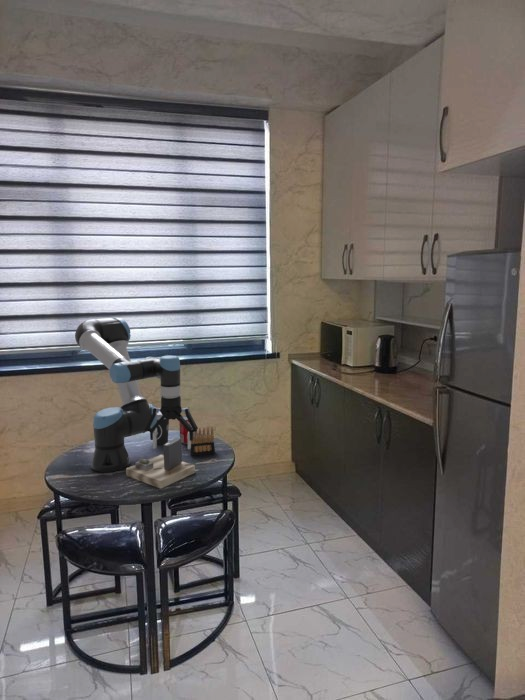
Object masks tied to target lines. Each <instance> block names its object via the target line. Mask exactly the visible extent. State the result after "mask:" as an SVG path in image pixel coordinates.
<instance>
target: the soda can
mask: <svg viewBox="0 0 525 700" xmlns="http://www.w3.org/2000/svg"><path fill="white" fill-rule="evenodd" d="M182 417H183V418H184V419H185V420H186V422H187V423H188V424H189V425H190V426H191V424H190V422H189V421H188V419H187V417H186V415H185V416H182ZM178 423H179V438H181V445H182V444H183V445H188V438H187V433H188V432H189V431H188V430H187V429H186V428H185V427H184V426H183V425H182V424H181V422H180V421H178ZM191 427H192V426H191Z"/></svg>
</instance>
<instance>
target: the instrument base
mask: <svg viewBox="0 0 525 700" xmlns="http://www.w3.org/2000/svg"><path fill="white" fill-rule="evenodd" d="M125 473H126V474H125V476H126V477H129V478H132V479H133V480H137V481H140V482H143V483H145V484H147V485H151V486H153V487H155V488H158V489H163V488H165V487H168V486H170V485H172V484H174V483H176V482H178V481H181V480H182V479H185V478H187V477H189V476H191V475H193V474H195V473H196V465H194V464H193V463H188V462H185V461H183V460H182V463H180V464H179V465H177V466H176V467H174V468H173V469H171V470H170V471H169V470H164V454H159V455H157V456H153V457H151V458H149V459H147V458H142V457H141V458H139V460H138V461H136V462H134V465H131V466H127V467H125Z"/></svg>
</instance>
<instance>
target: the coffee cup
mask: <svg viewBox="0 0 525 700" xmlns="http://www.w3.org/2000/svg"><path fill="white" fill-rule="evenodd" d="M162 416H163V415H162V413H161V412H160V411H159V412H158V413H157V421H158V420H159V419H160V418H161V417H162ZM156 423H157V422H156ZM169 425H170V419H169V420H167V419H166V418H164V419H163V421H162V422H161V423H160V424H159V425H158V426H157V428H156V429H155V430H154V431H156V438H157V446H158V445H161V446H163V445H164V444H166V443H168V442H169V431H170V430H169V427H170V426H169Z"/></svg>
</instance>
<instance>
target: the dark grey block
mask: <svg viewBox="0 0 525 700" xmlns="http://www.w3.org/2000/svg"><path fill="white" fill-rule="evenodd" d="M162 446H163V455H164V470H169V471H170V470H171V469H173V468H174V467H176V466H177V465H179V464H180V463H182V461H183V453H182V452H183V450H182V443H181V438H180V437H174V438H173V439H172V440H169V441H168V443H166V444H164V445H162Z"/></svg>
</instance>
